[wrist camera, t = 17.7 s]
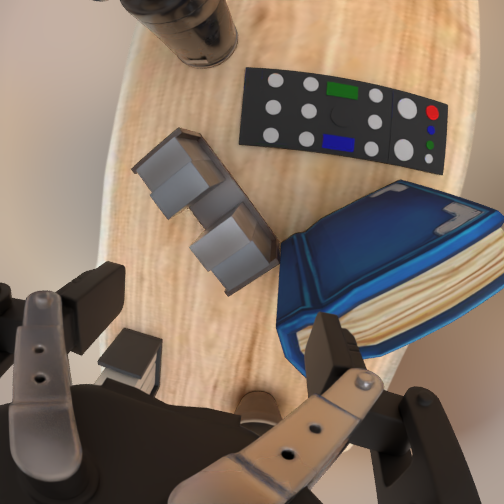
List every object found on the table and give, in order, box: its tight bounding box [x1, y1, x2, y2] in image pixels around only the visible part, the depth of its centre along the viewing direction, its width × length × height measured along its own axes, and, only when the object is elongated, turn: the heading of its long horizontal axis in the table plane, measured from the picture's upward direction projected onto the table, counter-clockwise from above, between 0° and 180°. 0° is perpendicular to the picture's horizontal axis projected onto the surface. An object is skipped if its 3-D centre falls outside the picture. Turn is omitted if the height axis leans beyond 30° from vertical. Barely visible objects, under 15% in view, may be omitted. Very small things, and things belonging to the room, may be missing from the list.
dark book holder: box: [98, 328, 162, 398], centre depth 47 cm, size 12×8×15 cm, turn 168°
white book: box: [94, 353, 157, 389], centre depth 46 cm, size 3×6×14 cm, turn 78°
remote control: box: [239, 67, 448, 175], centre depth 38 cm, size 11×30×2 cm, turn 85°
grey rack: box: [131, 128, 280, 297], centre depth 39 cm, size 19×8×12 cm, turn 36°
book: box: [276, 180, 504, 378], centre depth 32 cm, size 22×7×25 cm, turn 119°
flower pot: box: [234, 391, 283, 436], centre depth 50 cm, size 12×11×10 cm
